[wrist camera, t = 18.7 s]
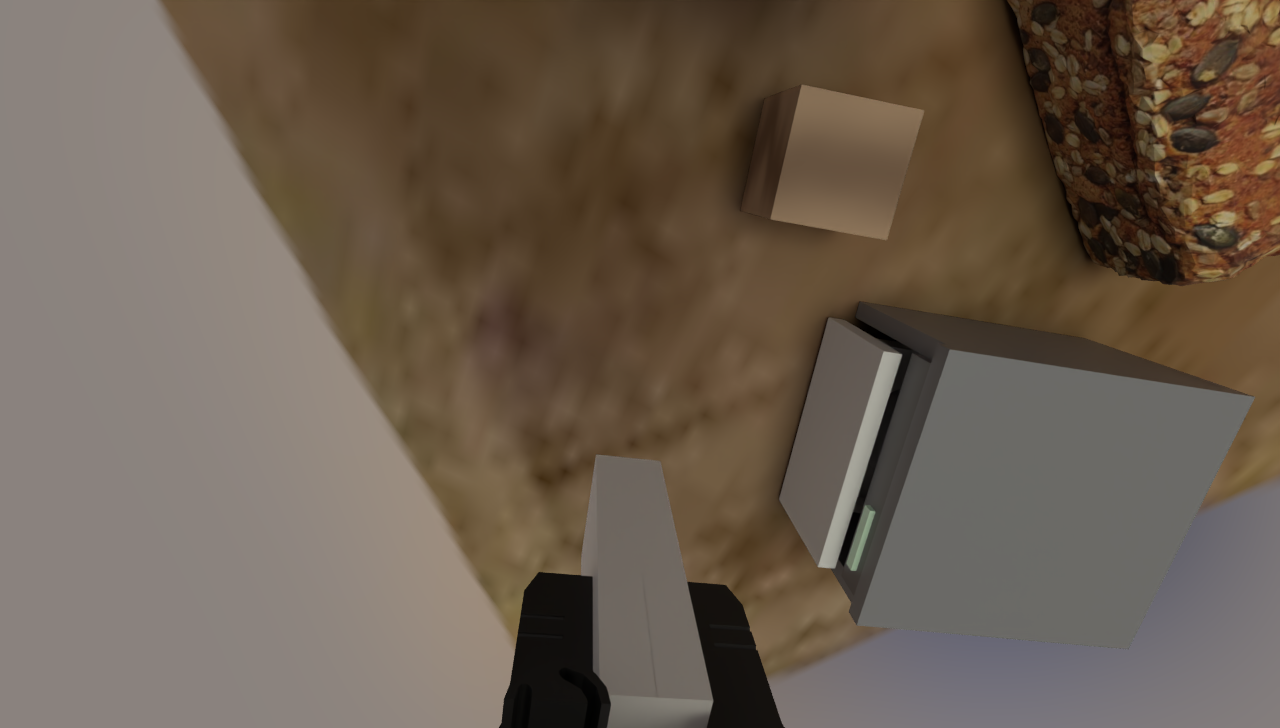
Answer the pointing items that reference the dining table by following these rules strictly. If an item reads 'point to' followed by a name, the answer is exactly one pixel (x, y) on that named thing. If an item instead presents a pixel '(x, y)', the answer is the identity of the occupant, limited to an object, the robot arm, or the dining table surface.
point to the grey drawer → (841, 434)
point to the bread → (1162, 129)
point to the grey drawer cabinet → (1029, 483)
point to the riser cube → (830, 160)
